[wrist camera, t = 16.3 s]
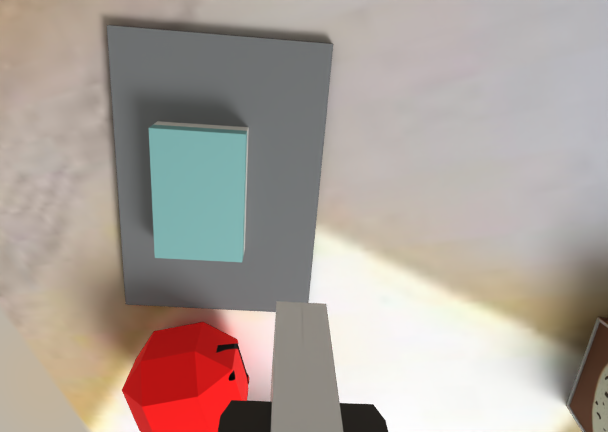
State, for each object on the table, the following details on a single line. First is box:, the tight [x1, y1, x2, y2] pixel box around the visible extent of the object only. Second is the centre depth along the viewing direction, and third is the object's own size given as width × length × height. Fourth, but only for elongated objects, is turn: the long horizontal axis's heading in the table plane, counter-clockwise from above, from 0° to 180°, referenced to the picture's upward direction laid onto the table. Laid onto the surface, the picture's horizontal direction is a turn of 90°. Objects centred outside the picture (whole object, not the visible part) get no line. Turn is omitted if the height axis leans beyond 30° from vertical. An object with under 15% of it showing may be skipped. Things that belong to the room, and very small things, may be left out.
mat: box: [107, 25, 333, 312], centre depth 34 cm, size 20×14×1 cm
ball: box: [122, 322, 249, 432], centre depth 36 cm, size 8×8×8 cm
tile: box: [149, 121, 249, 262], centre depth 33 cm, size 9×2×6 cm
